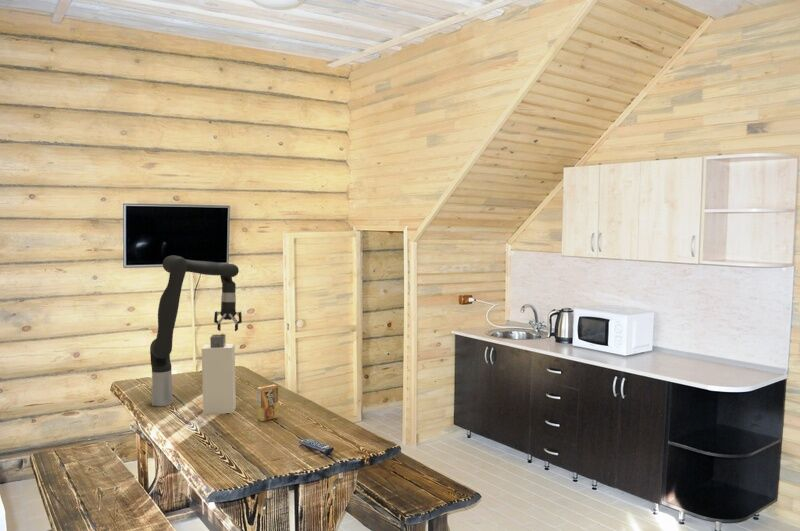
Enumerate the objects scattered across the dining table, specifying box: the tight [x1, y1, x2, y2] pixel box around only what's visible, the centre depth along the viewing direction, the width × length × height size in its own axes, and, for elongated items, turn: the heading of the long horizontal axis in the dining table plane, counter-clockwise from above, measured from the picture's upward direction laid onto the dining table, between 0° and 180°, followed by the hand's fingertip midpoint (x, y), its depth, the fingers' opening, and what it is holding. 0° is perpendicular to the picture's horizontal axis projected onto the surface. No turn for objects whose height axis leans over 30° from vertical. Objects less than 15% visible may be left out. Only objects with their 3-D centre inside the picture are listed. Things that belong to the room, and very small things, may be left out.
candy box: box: [256, 384, 279, 422], centre depth 296 cm, size 9×4×15 cm, turn 129°
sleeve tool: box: [210, 333, 227, 348], centre depth 310 cm, size 6×19×5 cm, turn 8°
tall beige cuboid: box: [201, 342, 237, 415], centre depth 306 cm, size 14×10×32 cm
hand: (227, 330), depth 340 cm, fingers open, 8 cm apart
